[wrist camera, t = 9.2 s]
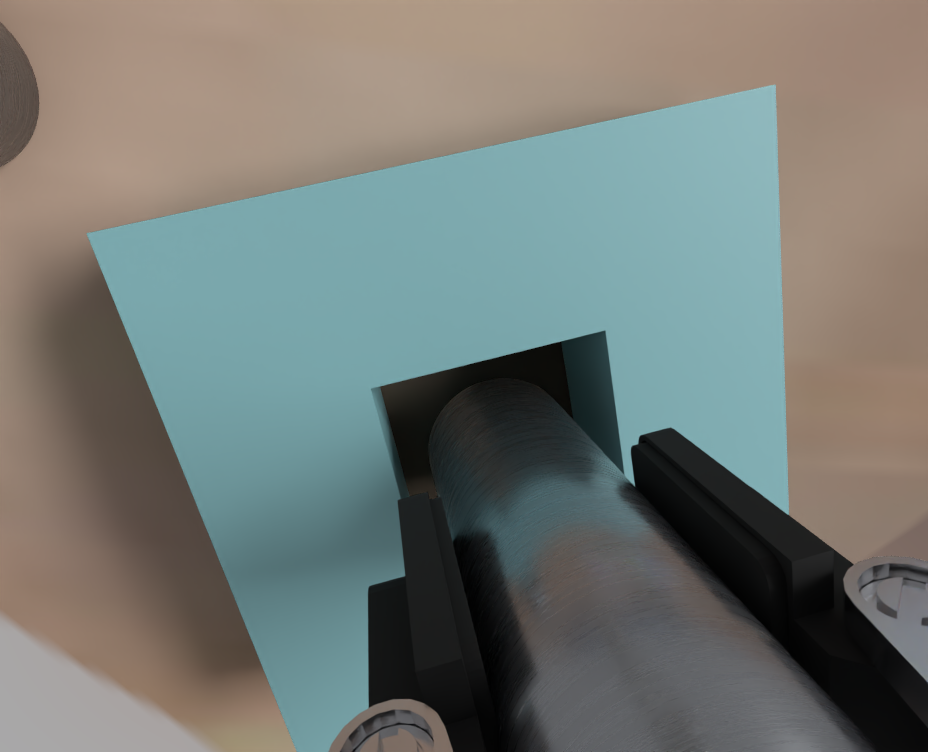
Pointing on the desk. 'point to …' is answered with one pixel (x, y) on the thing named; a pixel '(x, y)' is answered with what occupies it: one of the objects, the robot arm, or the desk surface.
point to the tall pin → (604, 600)
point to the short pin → (15, 97)
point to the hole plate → (448, 344)
